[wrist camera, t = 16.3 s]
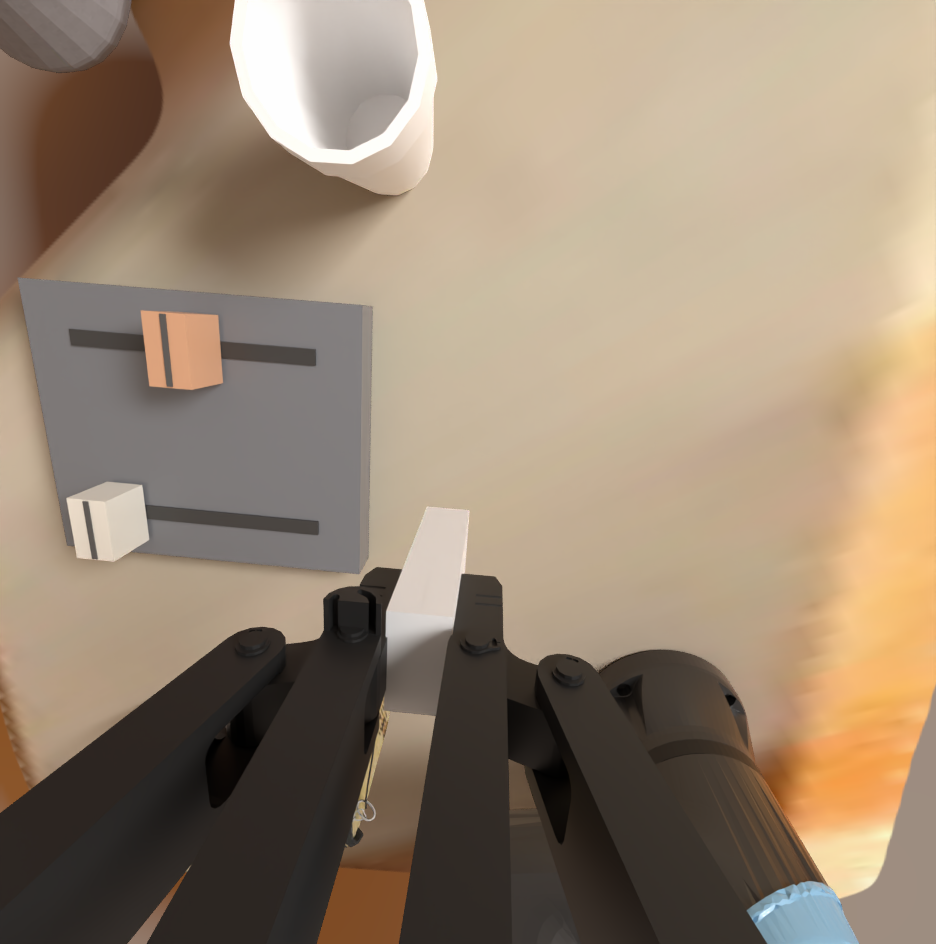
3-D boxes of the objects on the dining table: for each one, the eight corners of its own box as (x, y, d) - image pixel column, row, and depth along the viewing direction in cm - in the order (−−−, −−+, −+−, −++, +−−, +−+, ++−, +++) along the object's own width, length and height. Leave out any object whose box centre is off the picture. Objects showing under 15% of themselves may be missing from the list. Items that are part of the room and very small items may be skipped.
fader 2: (222, 383, 37) (190, 390, 33) (184, 379, 37) (148, 386, 33) (218, 315, 36) (183, 314, 32) (178, 311, 36) (139, 310, 32)
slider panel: (368, 558, 45) (358, 575, 42) (94, 531, 46) (65, 546, 42) (372, 306, 38) (361, 305, 35) (52, 280, 39) (15, 277, 36)
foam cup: (462, 207, 36) (444, 146, 23) (342, 230, 37) (263, 181, 24) (441, 54, 33) (408, -107, 21) (311, 82, 34) (205, -56, 22)
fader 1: (149, 539, 42) (113, 562, 38) (115, 536, 42) (75, 558, 38) (142, 484, 40) (104, 502, 36) (107, 481, 40) (65, 498, 36)
